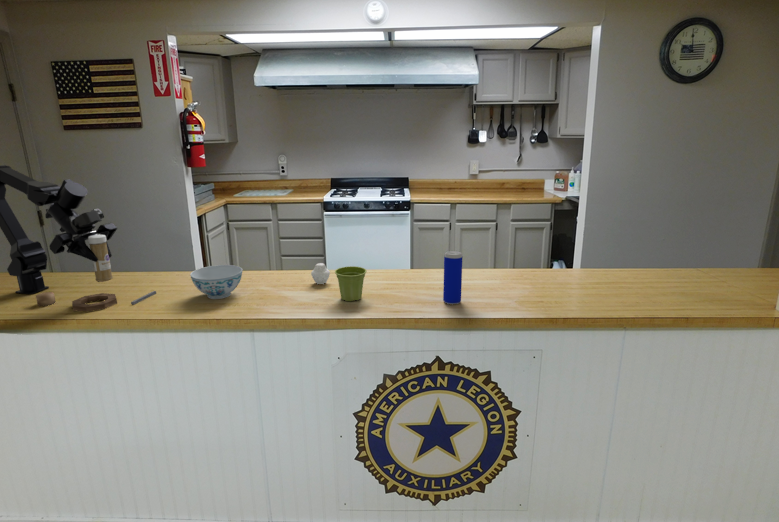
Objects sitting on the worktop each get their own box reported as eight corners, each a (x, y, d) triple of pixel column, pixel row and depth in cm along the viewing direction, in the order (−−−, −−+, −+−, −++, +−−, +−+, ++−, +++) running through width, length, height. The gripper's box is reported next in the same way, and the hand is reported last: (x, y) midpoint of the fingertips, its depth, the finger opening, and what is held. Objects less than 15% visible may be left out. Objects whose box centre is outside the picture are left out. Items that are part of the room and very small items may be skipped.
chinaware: (210, 286, 156) (208, 263, 154) (253, 289, 153) (251, 265, 151) (182, 302, 142) (179, 277, 140) (228, 305, 139) (226, 280, 137)
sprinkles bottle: (110, 281, 141) (102, 237, 137) (93, 282, 140) (85, 238, 136) (115, 276, 145) (107, 233, 141) (98, 278, 144) (90, 234, 140)
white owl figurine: (329, 286, 155) (328, 265, 153) (310, 286, 155) (309, 265, 153) (331, 280, 161) (330, 260, 159) (313, 280, 161) (312, 260, 159)
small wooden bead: (34, 307, 139) (32, 297, 139) (42, 301, 144) (40, 292, 143) (51, 306, 140) (49, 296, 139) (58, 301, 144) (56, 291, 143)
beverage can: (462, 300, 141) (464, 251, 137) (459, 306, 137) (460, 255, 133) (445, 298, 143) (446, 249, 139) (441, 304, 138) (442, 254, 134)
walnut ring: (63, 310, 137) (62, 305, 136) (94, 297, 147) (93, 292, 147) (96, 312, 134) (95, 307, 134) (125, 299, 145) (124, 294, 144)
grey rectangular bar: (133, 304, 140) (133, 302, 140) (131, 304, 140) (130, 301, 140) (156, 293, 150) (156, 291, 150) (154, 293, 150) (153, 290, 150)
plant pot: (372, 295, 146) (371, 268, 144) (357, 305, 138) (356, 277, 136) (345, 291, 150) (344, 265, 148) (330, 301, 142) (328, 273, 139)
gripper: (48, 206, 128) (87, 249, 128) (107, 196, 146) (141, 234, 145) (33, 232, 133) (70, 274, 133) (92, 220, 150) (125, 257, 150)
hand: (103, 258), depth 140 cm, fingers closed on sprinkles bottle, 4 cm apart
